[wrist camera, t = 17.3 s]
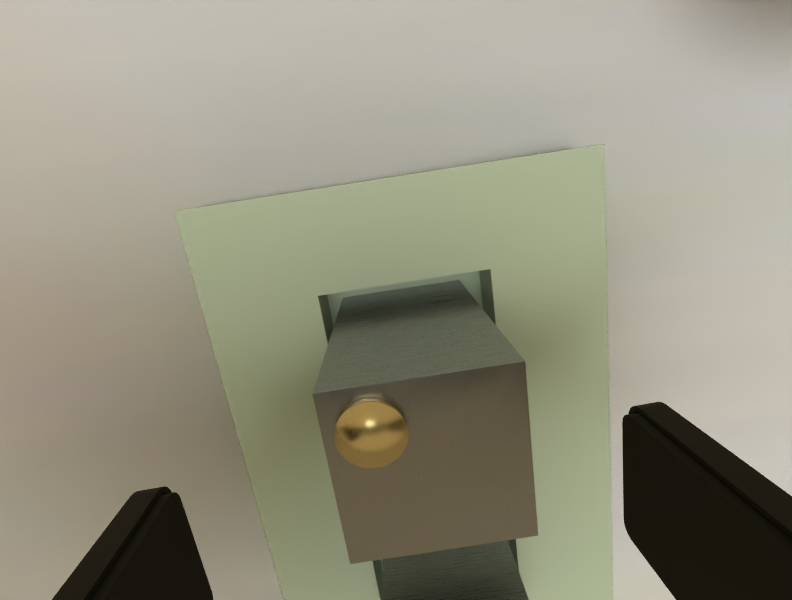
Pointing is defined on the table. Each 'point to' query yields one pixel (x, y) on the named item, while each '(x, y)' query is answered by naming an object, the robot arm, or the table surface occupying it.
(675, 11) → the table surface
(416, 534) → the knobbed taupe block
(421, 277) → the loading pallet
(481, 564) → the seated billet
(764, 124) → the table surface
